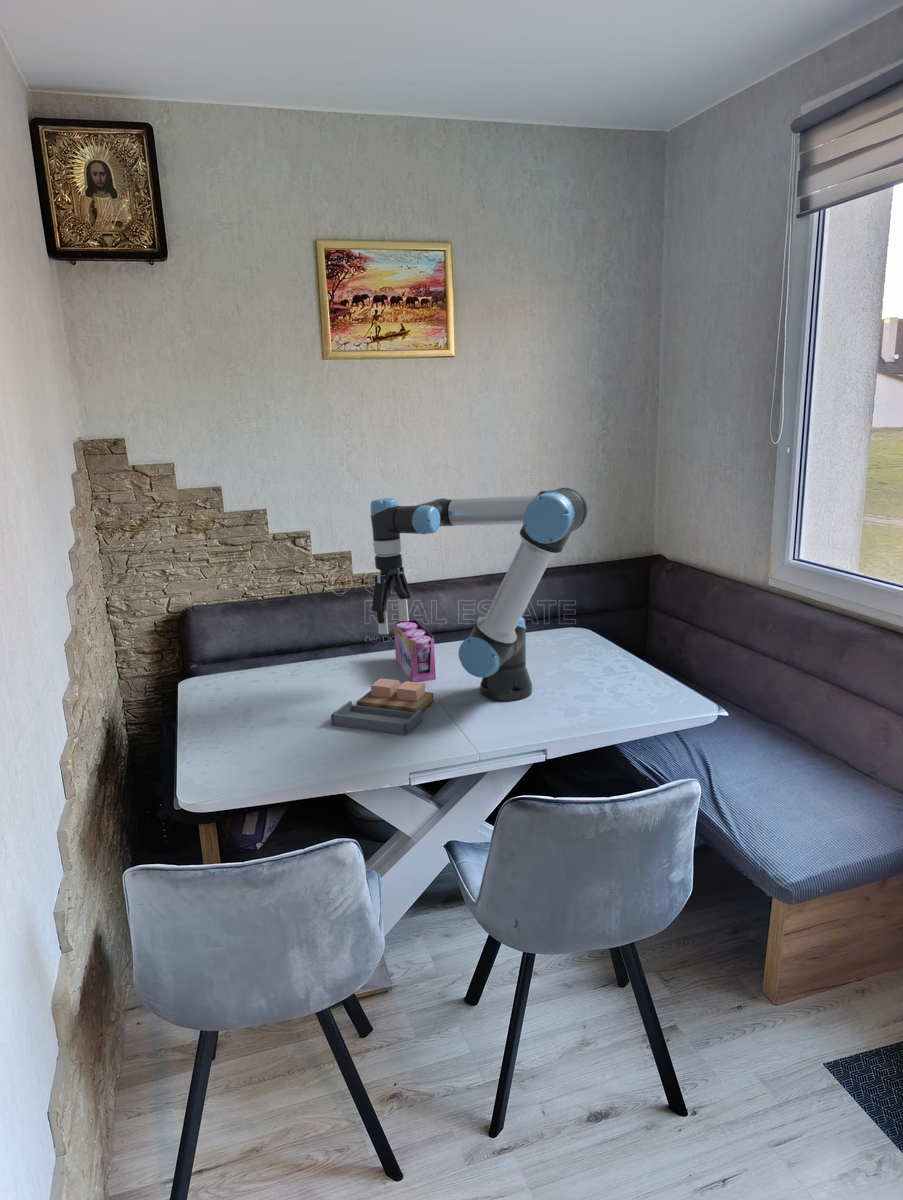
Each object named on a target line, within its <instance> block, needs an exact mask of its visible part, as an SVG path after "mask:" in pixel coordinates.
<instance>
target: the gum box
mask: <svg viewBox="0 0 903 1200" xmlns="http://www.w3.org/2000/svg"><path fill="white" fill-rule="evenodd" d="M393 634H394V635H393V637H394V650H395V661H396V663H397V664H398V666H399V667H400V668H401V669H402V671H403V672H404V674H405V675H406V676H407V677H408V678H409V680H410V682H418V683H419V682H425V681H433V680H436V679H437V677H436V675H437V674H436V657H435V656H436V655H435V639H434V636H433V634H432V633H431V632H430V631H428V630H427V629H426V628H425V627H424V626H423V625H422V624H421V623H420V622H419V621H418V620H417V619H409V621H398V620H397V621H393Z"/></svg>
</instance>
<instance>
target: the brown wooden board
mask: <svg viewBox="0 0 903 1200" xmlns="http://www.w3.org/2000/svg"><path fill="white" fill-rule="evenodd" d="M434 700H435V699H434V692H429V691H425V694H424V695H423V696H422V697H421V698H420V699H418V700H417V701H413V700H405V699H397V693H396V694H395V695H394V696H392V697H391V698H388V697H379V696H372V695H371V690H370V691H367V693H365V694H364V695H363V696H361V697H360V698H359V699H358V700H357V701H356V705H358V706H366V707H374V708H382V709H390V710H398V711H406V712H414V713H416V712H417V711H418V710H422V714H423V713H424V712H425V711H427V710H428V709H429V708H430V707H431V706H432V705H433V704H434V703H435V701H434Z"/></svg>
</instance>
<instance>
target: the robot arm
mask: <svg viewBox="0 0 903 1200" xmlns="http://www.w3.org/2000/svg"><path fill="white" fill-rule="evenodd" d="M585 499H586V498H584V496H583V495H582V494H581V493H580V492H579V491H577V490H576V489H573V488H570V487H561V488H556V489H551V490H541V491H538V492H537V493H536V495H532V494H531V495H516V496H515V495H513V496H494V497H492V496H491V497H490V496H489V497H472V498H471V497H468V498H454V499H451V498H450V499H449V498H437V499H434V500H432V501H428V502H424V503H421V504H416V505H399V504H398V500H397V499H396V498H394V497H384V498H383V497H382V498H377V499H373V500H372V501H371V502H370V521H371V527H372V528H371V529H372V541H373V542H372V546H373V550H374V551H373V553H374V554H375V556H374V562H375V563H374V564H375V568H376V569H377V570H379V571H380V575H375V576H374V588H373V589H374V590H373V597H372V606H371V610H372V612H376V617H377V626H378V627H377V628H378V629H377V630H378V634H379V635H389V632H390V631H389V624H388V623H389V622H388V621H389V620H388V610H386V608H387V603H388V599H389V595H390V592H391V591H392V589H393V590H394V591H395V593H396V595H397V597H398V599H397V608H398V609H397V610H398V619H399V621H409V620H410V617H409V608H408V599H411V590H410V586H409V584H408V581H407V577H406V575H405V570H404V566H403V558H402V556H403V555H402V554H401V552H402V546H401V544H402V543H401V536H400V535H401V534H413V535H414V534H417V535H418V534H419V535H427V534H428V535H429V534H435V533H436V532H437V531H438V530H439V528H440V527H456V526H460V527H461V526H490V525H492V526H493V525H496V526H497V525H522V527H521V529H520V531H519V536H520V538H521V542H520V544H519V546H518V549H517V550H516V553H515V555H514V556H513V559H512V560H511V563H510V565H509V567H508V569H507V570H506V574H505V575H504V577H503V579H502V581H501V584H500V586H499V587H498V590H497V592H496V593H495V595H494V598H493V600H492V602H491V604H490V607H489V609H487V610H488V611H487V613H486V614H485V616H481V617H479V618H478V619H477V620H476V622H475V624H474V626H473V629H472V631H471V632H470V635H469V636H468V637H467V638H465V639H464V640H463V641H462V643H461V644H460V645H459V647H458V659H459V661H460V664H461V666H462V667H463V669H464V670H465V671H466V672H467V673H468V674H470V675H472V676H474V677H476V678H480V679H481V681H480V683H479V689H480V690H479V691H480V695H481V696H483V697H484V698H487V699H490V700H494V701H502V702H509V701H510V702H511V701H518V700H523V699H525V698H528V697H529V696H530V695H531V694H532V693H533V683H532V680H531V677H530V674H529V672H528V668H527V664H526V663H527V661H526V659H527V658H526V657H527V656H526V655H527V647H526V646H527V644H526V643H527V642H526V641H527V639H526V637H527V636H526V630H527V626H526V620H525V618H524V617H523V614H524V612H525V611H526V610H527V609H526V608H527V607H528V605H529V603H530V600H531V599H532V596H533V595H534V593H535V591H536V589H537V587H538V585H539V583H540V581H541V579H542V577H543V575H544V573H545V571H546V569H547V567H548V565H549V563H550V561H551V560H552V557H553V556H556V555H559V554H561V553H562V551H563V549H564V547H565V545H566V543H567V542H568V540H569V537H570V536H571V534H572V533H573V532H575V531H576V530H578V529H579V528H580V527H582V525H583V524H584V523H585V521H586V519H587V516H588V504H587V501H586V500H585Z"/></svg>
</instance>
